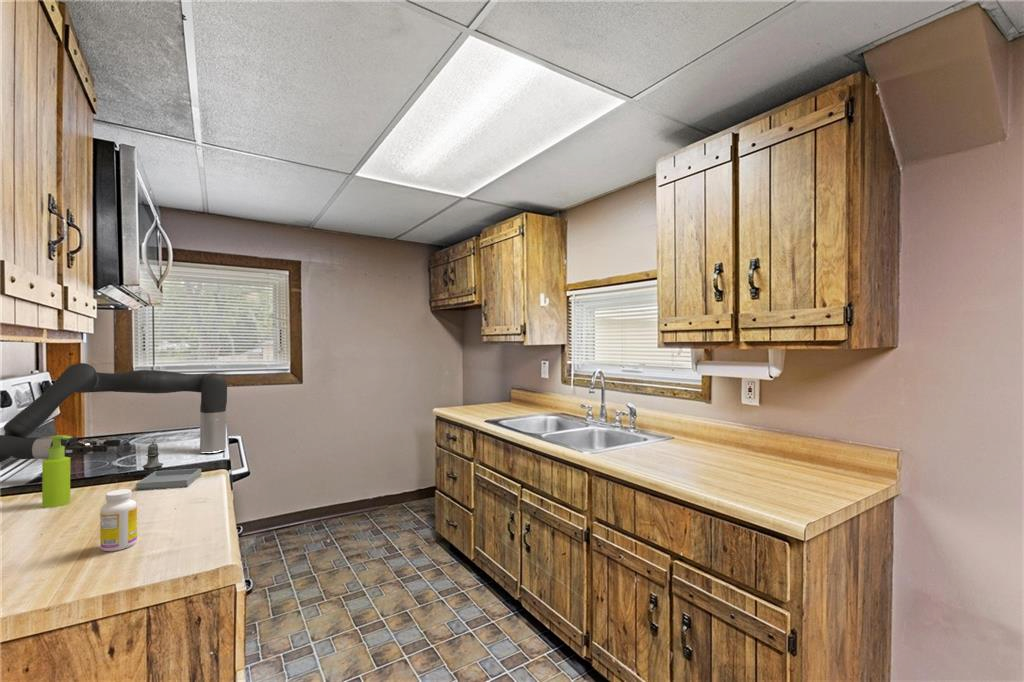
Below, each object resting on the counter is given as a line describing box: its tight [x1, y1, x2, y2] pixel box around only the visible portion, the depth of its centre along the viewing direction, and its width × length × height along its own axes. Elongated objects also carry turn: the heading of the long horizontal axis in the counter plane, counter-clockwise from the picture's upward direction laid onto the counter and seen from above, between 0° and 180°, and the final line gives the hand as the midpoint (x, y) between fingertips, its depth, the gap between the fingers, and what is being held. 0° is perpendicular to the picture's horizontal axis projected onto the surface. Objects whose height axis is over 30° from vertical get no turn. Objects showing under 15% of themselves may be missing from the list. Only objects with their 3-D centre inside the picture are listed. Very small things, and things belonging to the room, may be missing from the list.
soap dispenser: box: [41, 434, 73, 508], centre depth 138 cm, size 6×7×20 cm
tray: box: [135, 468, 202, 492], centre depth 159 cm, size 14×14×2 cm
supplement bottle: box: [99, 488, 138, 552], centre depth 112 cm, size 7×7×13 cm
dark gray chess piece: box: [142, 441, 164, 471], centre depth 167 cm, size 6×6×12 cm
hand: (113, 445), depth 164 cm, fingers open, 8 cm apart
